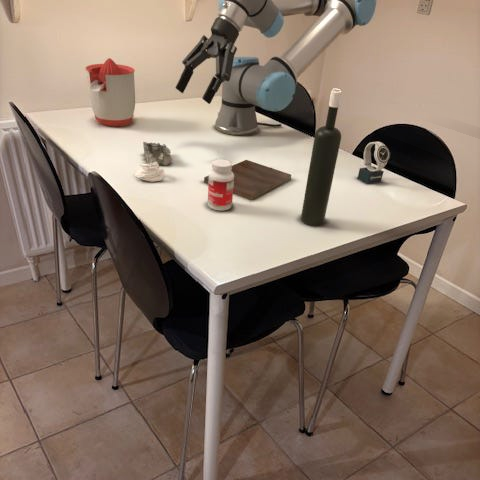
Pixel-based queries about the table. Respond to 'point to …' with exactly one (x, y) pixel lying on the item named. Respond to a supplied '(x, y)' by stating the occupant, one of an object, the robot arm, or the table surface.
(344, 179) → the table surface
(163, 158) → the egg carton
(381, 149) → the watch
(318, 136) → the wine bottle
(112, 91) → the citrus juicer
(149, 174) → the cream folded ring
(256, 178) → the walnut board
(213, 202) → the pill bottle
